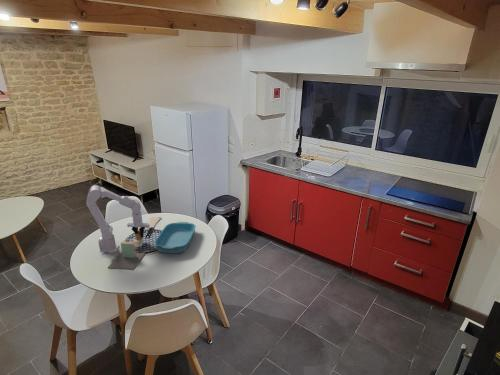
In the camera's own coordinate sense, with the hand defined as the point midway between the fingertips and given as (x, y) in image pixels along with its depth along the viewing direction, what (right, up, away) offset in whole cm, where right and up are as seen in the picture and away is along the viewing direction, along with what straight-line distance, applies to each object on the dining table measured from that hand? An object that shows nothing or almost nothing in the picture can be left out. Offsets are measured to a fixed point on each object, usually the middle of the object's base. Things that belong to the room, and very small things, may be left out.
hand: (139, 236), depth 212 cm
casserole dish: (+24, -5, +4) cm, 25 cm away
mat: (-2, -12, -16) cm, 21 cm away
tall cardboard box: (0, -3, -2) cm, 3 cm away
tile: (-2, -6, -16) cm, 17 cm away
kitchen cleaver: (-1, +3, +24) cm, 24 cm away
